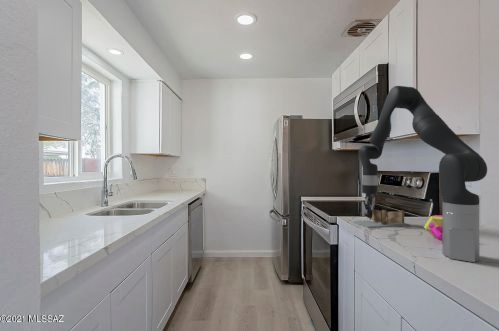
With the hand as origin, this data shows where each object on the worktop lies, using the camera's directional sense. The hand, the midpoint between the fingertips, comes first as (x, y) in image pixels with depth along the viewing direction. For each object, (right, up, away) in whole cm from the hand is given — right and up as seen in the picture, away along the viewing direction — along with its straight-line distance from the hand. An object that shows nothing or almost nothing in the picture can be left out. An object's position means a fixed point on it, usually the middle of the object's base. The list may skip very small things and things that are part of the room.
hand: (369, 217), depth 134 cm
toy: (+15, -3, -30) cm, 34 cm away
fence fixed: (+9, -3, -5) cm, 11 cm away
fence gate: (+3, -2, 0) cm, 3 cm away
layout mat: (+4, -3, -3) cm, 6 cm away
